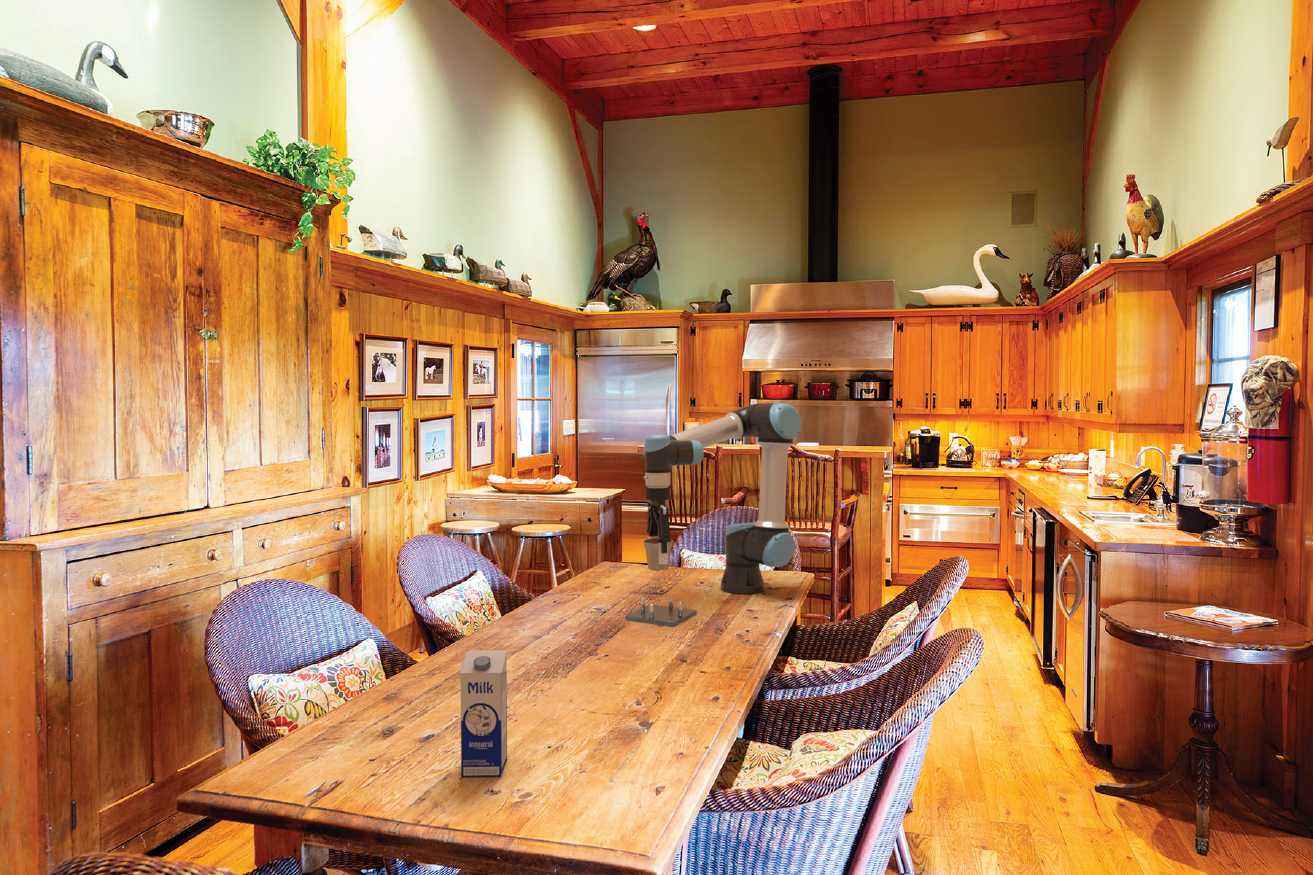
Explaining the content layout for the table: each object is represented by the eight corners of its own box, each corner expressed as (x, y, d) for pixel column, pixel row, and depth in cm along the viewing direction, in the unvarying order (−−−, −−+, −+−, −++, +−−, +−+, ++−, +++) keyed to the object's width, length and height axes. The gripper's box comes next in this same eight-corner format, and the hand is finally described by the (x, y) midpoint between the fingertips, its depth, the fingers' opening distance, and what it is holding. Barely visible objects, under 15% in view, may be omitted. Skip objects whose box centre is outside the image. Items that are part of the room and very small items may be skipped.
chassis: (650, 607, 250) (650, 591, 250) (696, 614, 243) (696, 597, 242) (625, 619, 236) (625, 602, 236) (673, 626, 228) (673, 608, 228)
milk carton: (508, 759, 142) (507, 648, 141) (502, 776, 135) (501, 660, 134) (468, 759, 142) (467, 649, 141) (460, 777, 135) (459, 661, 134)
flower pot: (673, 572, 234) (673, 543, 234) (642, 572, 234) (641, 543, 234) (674, 565, 244) (674, 537, 243) (643, 565, 244) (643, 538, 243)
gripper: (636, 483, 247) (636, 554, 248) (656, 490, 226) (657, 568, 227) (659, 482, 250) (659, 553, 251) (681, 489, 228) (681, 566, 229)
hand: (658, 560), depth 239 cm, fingers closed on flower pot, 9 cm apart
